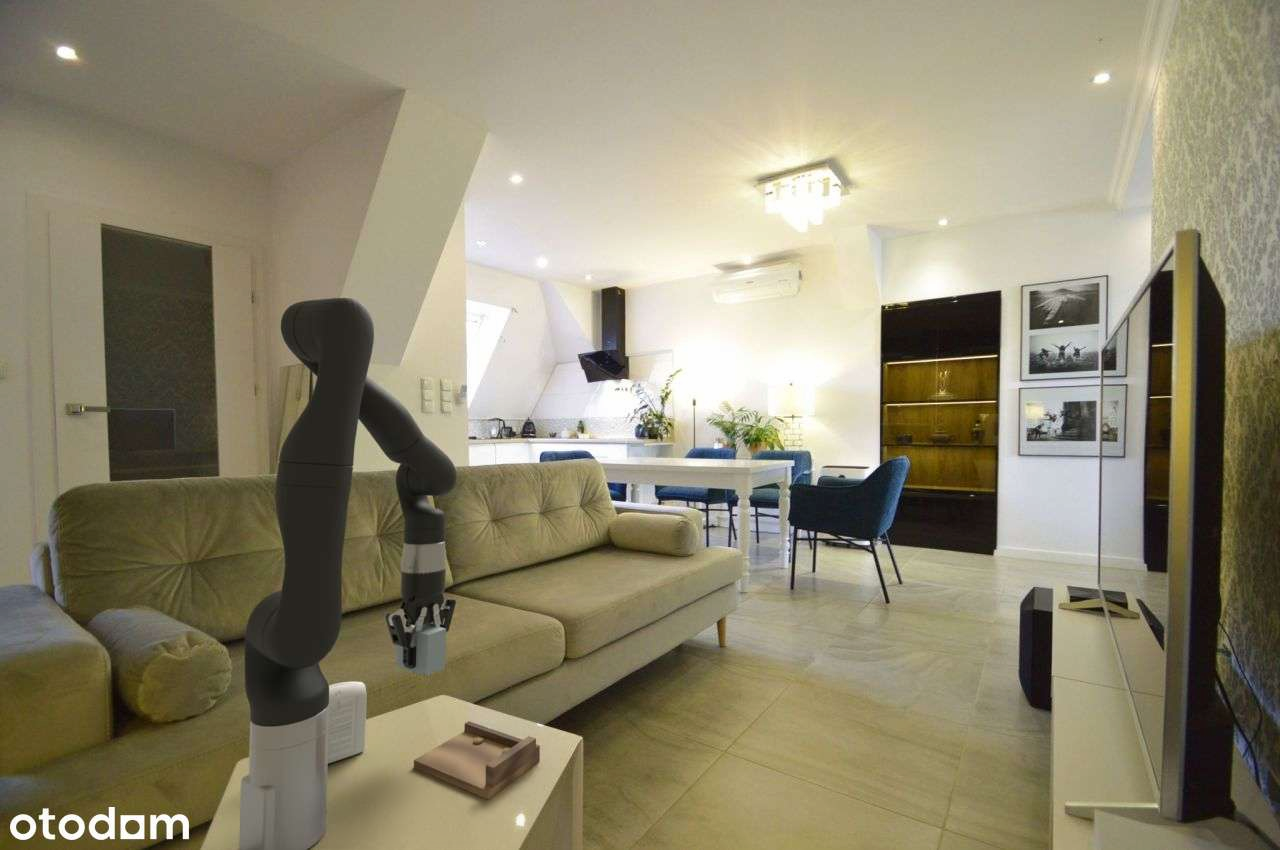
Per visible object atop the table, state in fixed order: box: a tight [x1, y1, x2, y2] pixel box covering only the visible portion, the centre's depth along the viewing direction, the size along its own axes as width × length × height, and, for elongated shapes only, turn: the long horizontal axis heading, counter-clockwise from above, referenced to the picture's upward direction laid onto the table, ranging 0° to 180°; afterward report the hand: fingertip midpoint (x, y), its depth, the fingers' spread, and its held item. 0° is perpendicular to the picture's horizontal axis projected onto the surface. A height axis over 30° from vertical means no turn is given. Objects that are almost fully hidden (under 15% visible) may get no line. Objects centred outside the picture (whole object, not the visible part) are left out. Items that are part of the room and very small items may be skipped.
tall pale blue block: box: [396, 624, 447, 677], centre depth 100 cm, size 4×8×7 cm, turn 60°
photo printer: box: [327, 681, 368, 765], centre depth 96 cm, size 10×4×12 cm, turn 134°
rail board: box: [413, 720, 541, 800], centre depth 94 cm, size 12×17×4 cm
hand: (421, 662), depth 100 cm, fingers closed on tall pale blue block, 4 cm apart
